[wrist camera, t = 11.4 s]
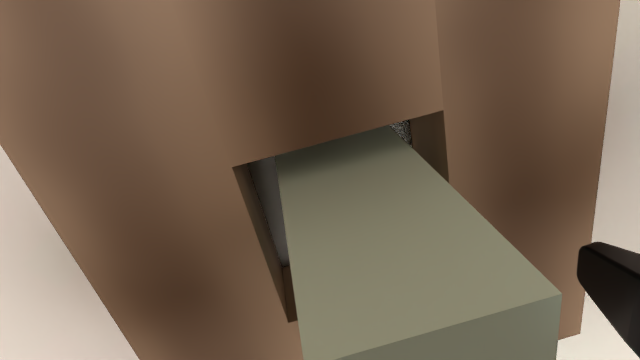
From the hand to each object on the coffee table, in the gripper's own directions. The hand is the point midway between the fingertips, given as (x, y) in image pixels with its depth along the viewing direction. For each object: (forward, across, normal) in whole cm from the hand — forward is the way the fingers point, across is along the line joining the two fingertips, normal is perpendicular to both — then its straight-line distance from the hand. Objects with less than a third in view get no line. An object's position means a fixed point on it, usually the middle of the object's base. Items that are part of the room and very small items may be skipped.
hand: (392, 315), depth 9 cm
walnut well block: (+7, 0, 0) cm, 7 cm away
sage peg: (+7, 0, 0) cm, 7 cm away
